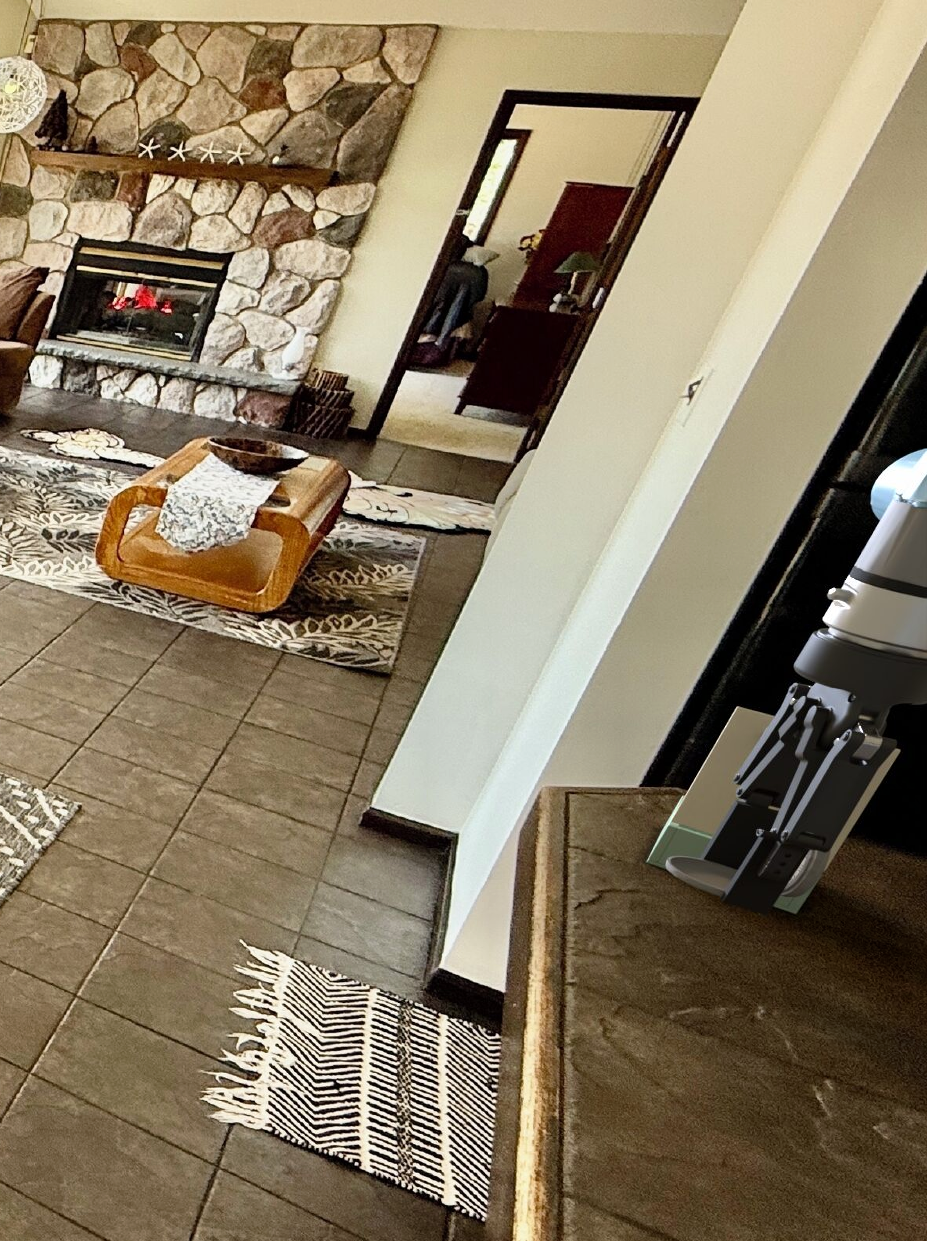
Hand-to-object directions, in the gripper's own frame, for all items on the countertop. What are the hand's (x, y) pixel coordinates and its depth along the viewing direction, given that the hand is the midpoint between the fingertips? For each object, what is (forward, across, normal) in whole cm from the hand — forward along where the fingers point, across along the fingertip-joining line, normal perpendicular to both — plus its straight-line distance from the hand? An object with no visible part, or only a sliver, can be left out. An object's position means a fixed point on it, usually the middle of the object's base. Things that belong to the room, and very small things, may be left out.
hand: (730, 887), depth 100 cm
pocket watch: (0, 0, 0) cm, 1 cm away
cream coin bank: (-5, -18, +5) cm, 20 cm away
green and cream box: (+6, -22, +7) cm, 24 cm away
